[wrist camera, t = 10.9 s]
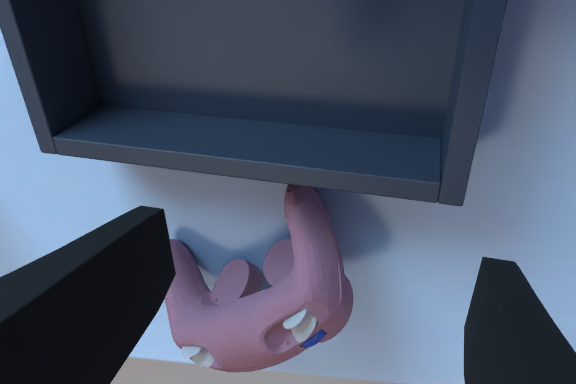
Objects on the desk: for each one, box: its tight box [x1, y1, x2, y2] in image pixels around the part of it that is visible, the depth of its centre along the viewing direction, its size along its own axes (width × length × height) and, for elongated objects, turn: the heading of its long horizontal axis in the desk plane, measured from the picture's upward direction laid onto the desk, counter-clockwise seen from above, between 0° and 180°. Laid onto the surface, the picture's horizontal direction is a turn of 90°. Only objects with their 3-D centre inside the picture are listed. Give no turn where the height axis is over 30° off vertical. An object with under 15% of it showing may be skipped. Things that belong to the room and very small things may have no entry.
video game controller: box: [164, 184, 353, 372], centre depth 22 cm, size 10×5×7 cm, turn 126°
